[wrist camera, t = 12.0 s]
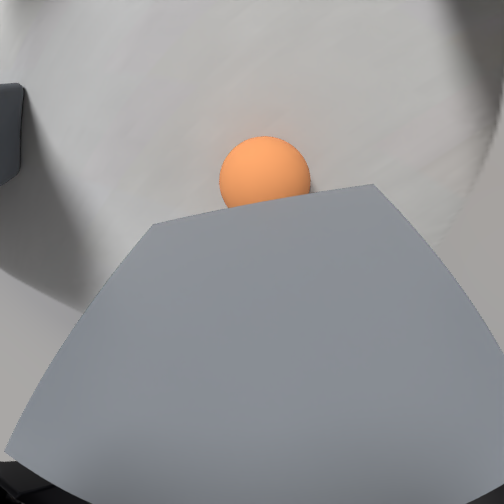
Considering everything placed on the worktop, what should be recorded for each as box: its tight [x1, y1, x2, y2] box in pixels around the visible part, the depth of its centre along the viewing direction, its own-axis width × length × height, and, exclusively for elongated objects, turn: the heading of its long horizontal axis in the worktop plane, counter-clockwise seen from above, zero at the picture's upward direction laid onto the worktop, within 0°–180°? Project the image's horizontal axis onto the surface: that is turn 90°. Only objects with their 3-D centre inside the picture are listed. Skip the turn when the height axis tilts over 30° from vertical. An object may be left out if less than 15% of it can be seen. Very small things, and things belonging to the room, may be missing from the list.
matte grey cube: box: [4, 184, 504, 504], centre depth 7 cm, size 8×8×9 cm
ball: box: [219, 136, 310, 208], centre depth 16 cm, size 5×5×5 cm
